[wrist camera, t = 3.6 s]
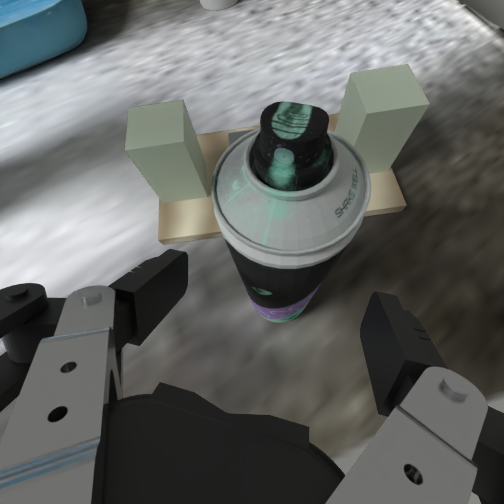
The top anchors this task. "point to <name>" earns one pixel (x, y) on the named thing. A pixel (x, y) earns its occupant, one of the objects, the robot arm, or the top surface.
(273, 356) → the top surface
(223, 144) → the wooden board
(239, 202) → the spray can
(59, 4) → the casserole dish
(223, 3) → the coffee cup
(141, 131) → the sage pillars
